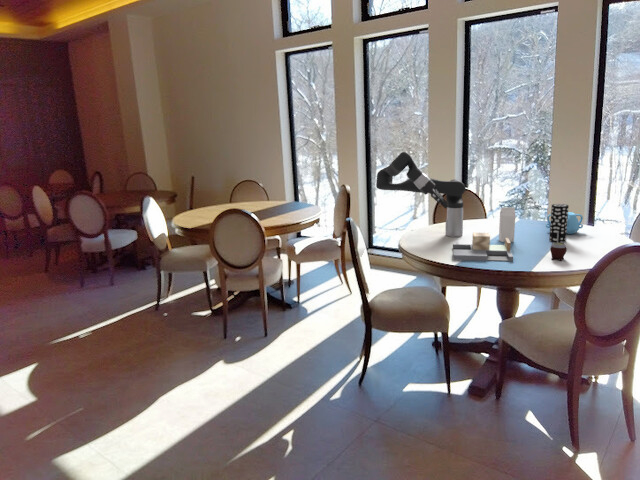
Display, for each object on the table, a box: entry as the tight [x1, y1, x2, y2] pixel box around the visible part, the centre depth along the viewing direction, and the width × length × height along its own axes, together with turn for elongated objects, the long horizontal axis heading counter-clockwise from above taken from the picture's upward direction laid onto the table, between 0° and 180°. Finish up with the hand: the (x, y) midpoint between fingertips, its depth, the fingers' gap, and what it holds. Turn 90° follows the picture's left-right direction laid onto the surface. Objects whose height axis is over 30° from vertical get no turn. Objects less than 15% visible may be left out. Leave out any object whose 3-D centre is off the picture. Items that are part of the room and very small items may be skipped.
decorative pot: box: [545, 211, 584, 235], centre depth 293 cm, size 16×16×14 cm
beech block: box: [471, 232, 491, 250], centre depth 259 cm, size 8×8×7 cm
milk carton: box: [498, 206, 516, 243], centre depth 280 cm, size 7×7×19 cm
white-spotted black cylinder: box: [548, 203, 570, 243], centre depth 274 cm, size 8×8×20 cm
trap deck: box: [452, 238, 514, 262], centre depth 255 cm, size 28×22×6 cm
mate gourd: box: [549, 232, 568, 262], centre depth 241 cm, size 8×8×15 cm
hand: (447, 206), depth 260 cm, fingers open, 6 cm apart
